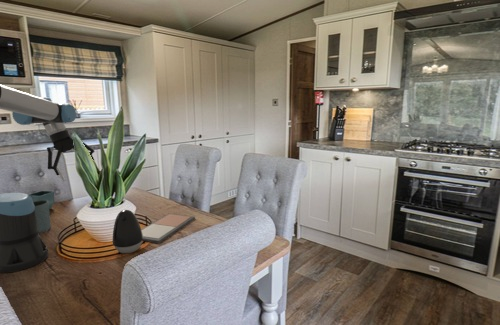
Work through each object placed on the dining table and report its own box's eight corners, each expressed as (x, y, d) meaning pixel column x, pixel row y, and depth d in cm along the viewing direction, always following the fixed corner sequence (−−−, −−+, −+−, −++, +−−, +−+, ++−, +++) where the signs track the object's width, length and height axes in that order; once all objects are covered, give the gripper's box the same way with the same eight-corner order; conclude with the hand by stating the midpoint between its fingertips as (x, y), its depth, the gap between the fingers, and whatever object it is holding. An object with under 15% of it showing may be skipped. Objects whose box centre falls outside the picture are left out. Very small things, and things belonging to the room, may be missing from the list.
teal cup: (38, 235, 126) (33, 207, 124) (18, 234, 128) (13, 206, 126) (58, 225, 136) (54, 199, 134) (39, 224, 138) (34, 199, 136)
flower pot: (28, 212, 155) (25, 195, 154) (44, 206, 164) (41, 190, 162) (41, 213, 153) (38, 196, 151) (57, 207, 161) (54, 191, 159)
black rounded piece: (110, 258, 105) (105, 216, 102) (117, 245, 115) (112, 206, 112) (141, 255, 107) (137, 213, 104) (145, 242, 117) (142, 204, 114)
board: (159, 243, 116) (158, 240, 116) (129, 238, 121) (129, 235, 120) (194, 218, 140) (194, 216, 139) (169, 215, 145) (168, 213, 144)
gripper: (87, 122, 145) (107, 163, 150) (29, 142, 137) (53, 184, 142) (85, 121, 138) (106, 164, 143) (25, 142, 130) (49, 187, 135)
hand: (79, 174), depth 143 cm, fingers open, 13 cm apart
